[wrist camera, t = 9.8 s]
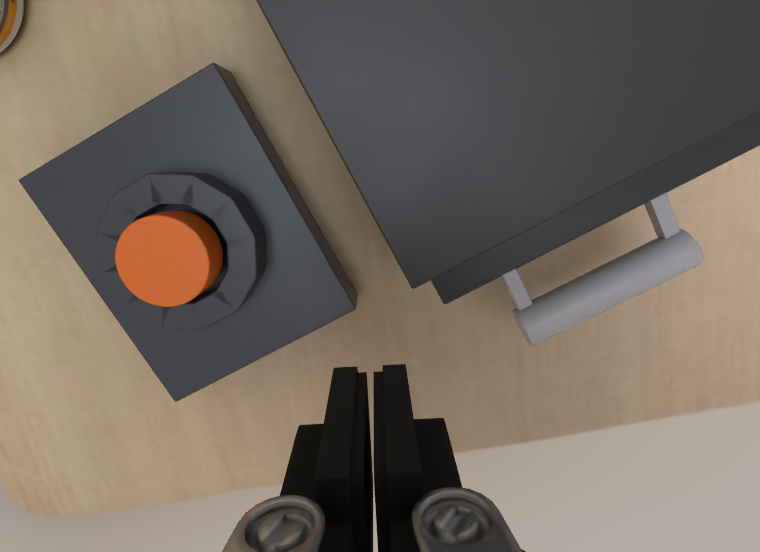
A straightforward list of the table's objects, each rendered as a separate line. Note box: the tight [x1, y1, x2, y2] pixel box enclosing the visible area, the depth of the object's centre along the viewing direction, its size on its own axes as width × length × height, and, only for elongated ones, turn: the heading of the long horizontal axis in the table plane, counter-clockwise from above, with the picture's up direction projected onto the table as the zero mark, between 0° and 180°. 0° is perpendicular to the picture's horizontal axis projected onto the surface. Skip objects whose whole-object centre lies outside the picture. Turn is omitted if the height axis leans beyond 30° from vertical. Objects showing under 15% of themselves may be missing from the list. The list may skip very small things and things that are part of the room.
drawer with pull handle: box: [431, 111, 760, 346], centre depth 18 cm, size 18×11×8 cm, turn 28°
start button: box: [115, 210, 223, 307], centre depth 19 cm, size 4×4×2 cm
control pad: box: [19, 63, 357, 402], centre depth 22 cm, size 12×10×4 cm
